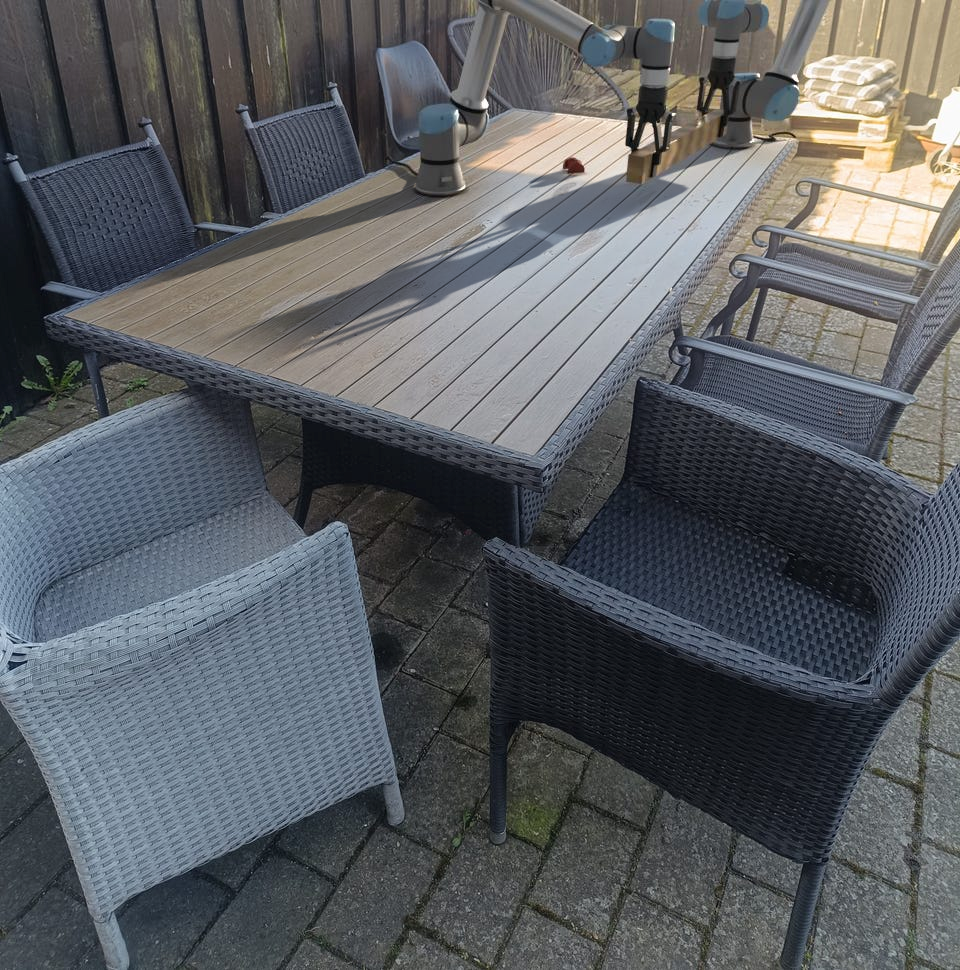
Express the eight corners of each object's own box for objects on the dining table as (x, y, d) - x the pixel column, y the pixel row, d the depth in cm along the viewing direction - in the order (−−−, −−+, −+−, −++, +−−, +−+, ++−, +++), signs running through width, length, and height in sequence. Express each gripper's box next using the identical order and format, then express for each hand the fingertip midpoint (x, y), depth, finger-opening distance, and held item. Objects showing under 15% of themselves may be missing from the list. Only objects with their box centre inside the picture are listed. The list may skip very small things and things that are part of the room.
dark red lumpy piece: (577, 153, 276) (586, 160, 270) (577, 167, 278) (585, 173, 272) (561, 155, 275) (569, 162, 269) (561, 168, 277) (569, 175, 271)
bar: (641, 184, 232) (644, 157, 228) (625, 181, 235) (628, 154, 230) (726, 134, 279) (729, 110, 275) (712, 132, 281) (715, 108, 277)
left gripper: (690, 86, 223) (678, 176, 236) (628, 79, 231) (620, 167, 244) (680, 91, 218) (668, 183, 231) (617, 84, 226) (609, 173, 239)
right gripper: (756, 57, 260) (742, 136, 274) (700, 52, 268) (690, 129, 282) (748, 61, 255) (734, 141, 269) (692, 55, 263) (681, 134, 277)
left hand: (644, 174), depth 238 cm, fingers closed on bar, 5 cm apart
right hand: (712, 135), depth 275 cm, fingers closed on bar, 5 cm apart
